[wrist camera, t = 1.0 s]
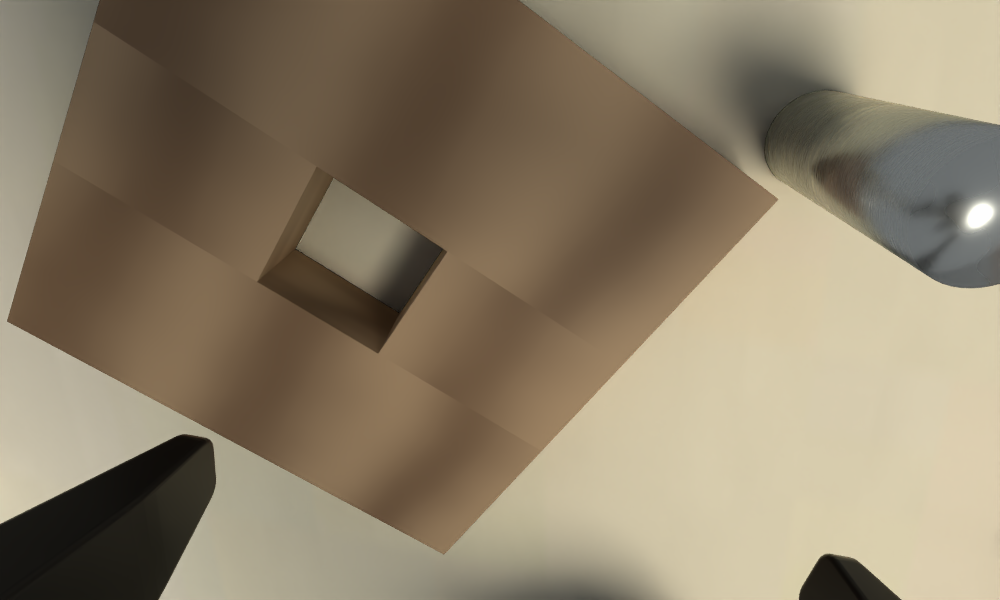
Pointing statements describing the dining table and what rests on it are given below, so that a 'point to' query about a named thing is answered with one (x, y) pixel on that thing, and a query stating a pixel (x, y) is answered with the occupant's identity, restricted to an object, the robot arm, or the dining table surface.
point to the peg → (898, 179)
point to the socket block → (397, 190)
